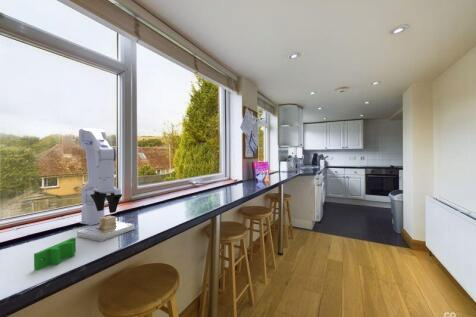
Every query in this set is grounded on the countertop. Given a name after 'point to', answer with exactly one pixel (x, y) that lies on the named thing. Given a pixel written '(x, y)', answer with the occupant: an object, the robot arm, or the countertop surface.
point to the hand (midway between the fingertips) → (106, 211)
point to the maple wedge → (107, 222)
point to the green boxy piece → (55, 254)
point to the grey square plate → (102, 235)
